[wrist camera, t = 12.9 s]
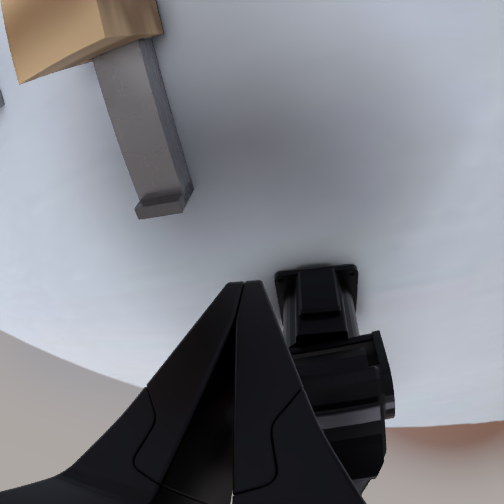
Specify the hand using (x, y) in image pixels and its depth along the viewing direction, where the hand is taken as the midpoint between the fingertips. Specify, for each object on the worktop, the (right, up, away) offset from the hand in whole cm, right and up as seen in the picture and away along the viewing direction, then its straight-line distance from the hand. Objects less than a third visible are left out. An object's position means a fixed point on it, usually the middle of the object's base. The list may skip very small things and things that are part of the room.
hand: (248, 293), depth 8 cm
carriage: (-8, +15, +5) cm, 18 cm away
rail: (-7, +12, +8) cm, 16 cm away
